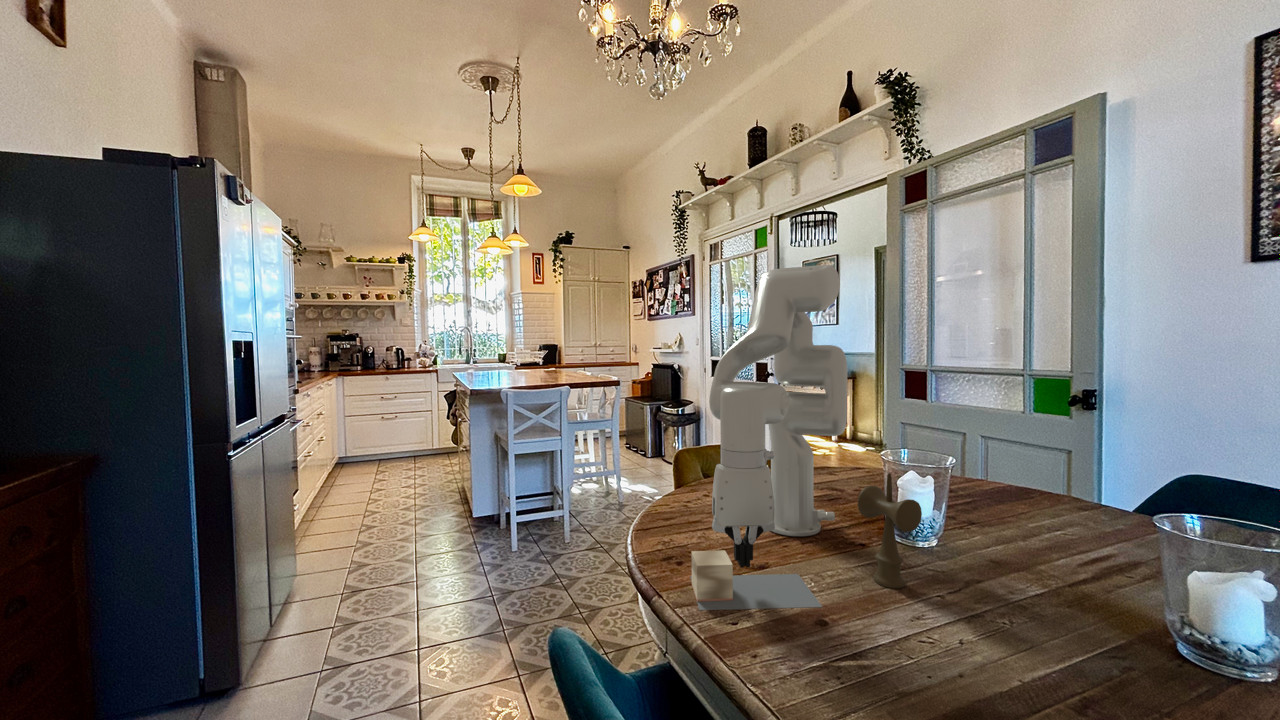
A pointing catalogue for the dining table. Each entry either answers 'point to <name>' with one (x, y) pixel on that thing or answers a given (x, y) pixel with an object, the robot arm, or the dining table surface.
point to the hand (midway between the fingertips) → (743, 563)
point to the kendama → (889, 529)
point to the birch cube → (712, 575)
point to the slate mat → (765, 593)
